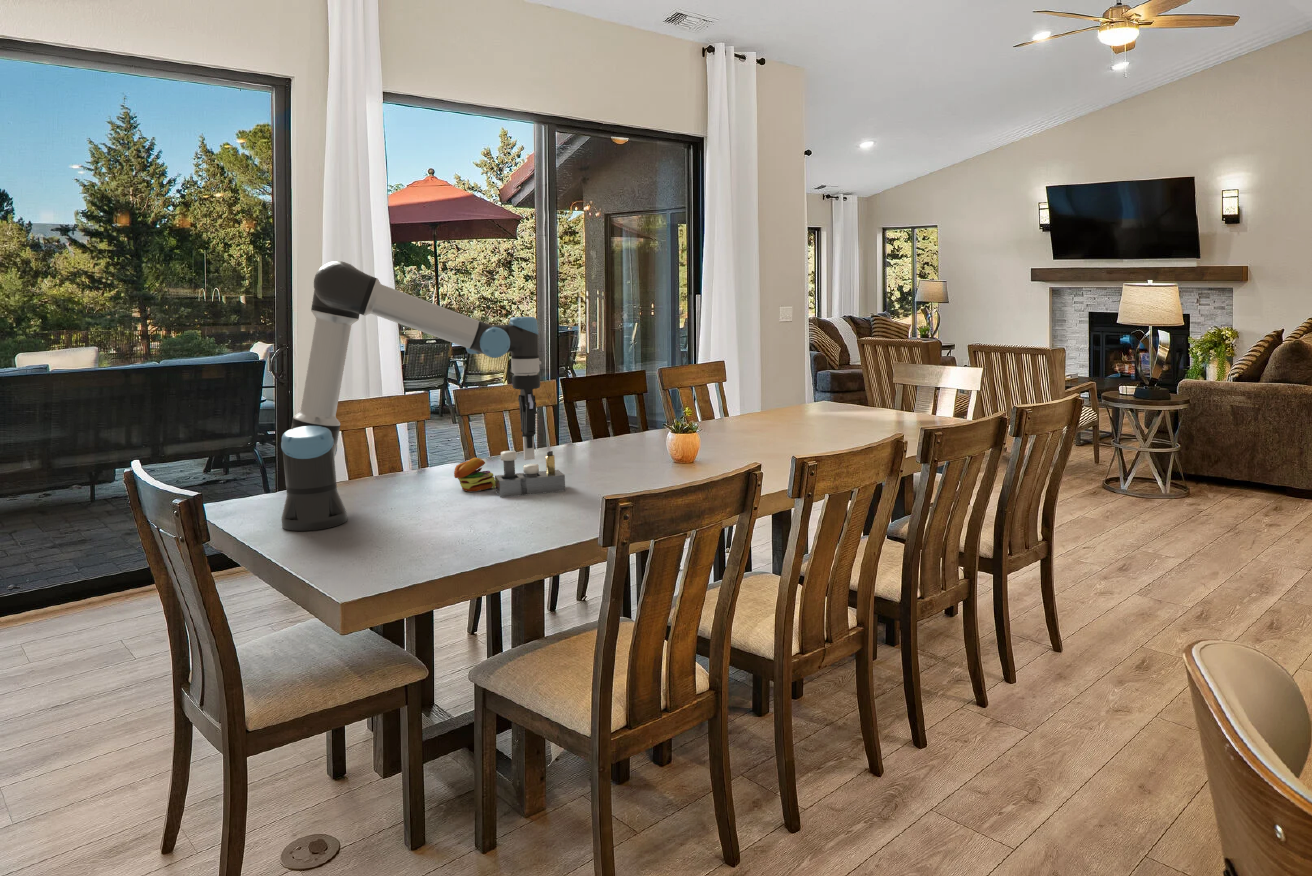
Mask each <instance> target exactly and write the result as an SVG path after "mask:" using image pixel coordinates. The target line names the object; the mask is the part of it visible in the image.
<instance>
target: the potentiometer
mask: <svg viewBox="0 0 1312 876" xmlns="http://www.w3.org/2000/svg"><path fill="white" fill-rule="evenodd" d="M555 462H556V461H555V455H554V452H553V450H547V451H546V455H545V466H546V467H545V468H546V470H545V471H546V472H547V474H555V470H556V465H555V464H556V463H555Z"/></svg>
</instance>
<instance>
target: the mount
mask: <svg viewBox="0 0 1312 876" xmlns="http://www.w3.org/2000/svg"><path fill="white" fill-rule="evenodd" d="M565 476H566V475H565V474H564V473H563V472H562V471H561V470H560V469H555V474H547V472H546V470H541V471H540V470H539V473H537V476H534V477H526V474H524V472H520V473H515V477H511V478H506V477H504V474H498V475H497V474H496V475H494V478H495V492H496V494H497V495H498V496H499V498H508V497H518V496H519V497H521V496H529V495H538V494H547V493H558V492H565V491H566V478H565Z"/></svg>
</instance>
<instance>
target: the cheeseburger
mask: <svg viewBox="0 0 1312 876" xmlns="http://www.w3.org/2000/svg"><path fill="white" fill-rule="evenodd" d="M485 464H486V462H485V460H483V459H482V458H479V457H472V458H471V459H469V460H467V461H464V462H460V463H458V464H457V465H456V466H455V467H454V472H453V477H454V478H455V479H457V480H458V481H459V484H460V486H461V489H462V490H463V491H464V492H470V493H474V492H481V491H484V490H489V489H496V487H495V476H494V473H493V472H491V471H490V470H482V469H483V466H484V465H485Z"/></svg>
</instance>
